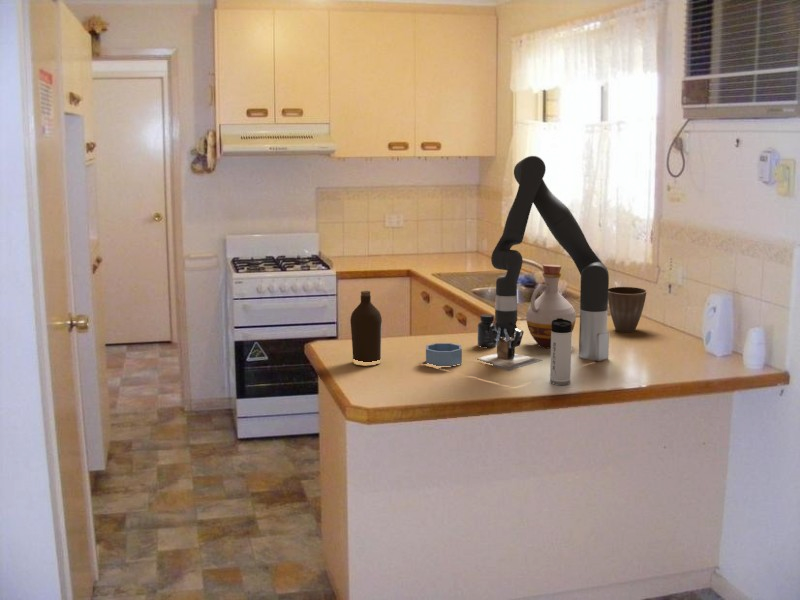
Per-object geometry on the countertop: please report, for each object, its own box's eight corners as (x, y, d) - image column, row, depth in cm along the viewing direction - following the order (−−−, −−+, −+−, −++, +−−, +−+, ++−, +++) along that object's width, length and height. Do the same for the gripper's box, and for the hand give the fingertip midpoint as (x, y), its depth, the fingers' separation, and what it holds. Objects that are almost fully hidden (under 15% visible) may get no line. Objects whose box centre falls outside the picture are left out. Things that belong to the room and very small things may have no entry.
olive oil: (360, 368, 302) (358, 295, 297) (346, 361, 311) (344, 290, 306) (387, 364, 307) (386, 292, 302) (373, 357, 316) (372, 287, 311)
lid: (534, 360, 308) (535, 340, 307) (508, 368, 299) (508, 348, 297) (503, 353, 318) (503, 334, 317) (476, 360, 309) (476, 341, 307)
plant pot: (646, 335, 345) (648, 294, 341) (606, 334, 347) (607, 293, 344) (643, 326, 359) (645, 287, 356) (604, 325, 362) (606, 286, 358)
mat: (542, 361, 308) (543, 360, 308) (509, 372, 296) (509, 370, 296) (502, 352, 321) (502, 351, 321) (468, 362, 309) (468, 360, 309)
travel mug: (567, 379, 287) (569, 317, 283) (572, 385, 281) (573, 322, 277) (548, 379, 287) (549, 318, 283) (552, 385, 281) (553, 322, 277)
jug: (549, 355, 317) (551, 271, 311) (512, 346, 330) (513, 265, 325) (585, 346, 329) (587, 264, 323) (548, 337, 343) (549, 259, 337)
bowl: (468, 364, 306) (468, 347, 305) (444, 371, 298) (444, 353, 297) (443, 358, 315) (443, 341, 314) (418, 364, 307) (418, 347, 305)
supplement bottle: (474, 346, 331) (474, 314, 329) (491, 344, 333) (491, 312, 331) (482, 350, 325) (482, 318, 322) (499, 348, 327) (499, 316, 325)
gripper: (529, 309, 302) (529, 358, 306) (497, 303, 313) (496, 351, 316) (515, 312, 297) (514, 362, 301) (483, 306, 307) (482, 355, 311)
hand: (505, 356), depth 308 cm, fingers closed on lid, 4 cm apart
